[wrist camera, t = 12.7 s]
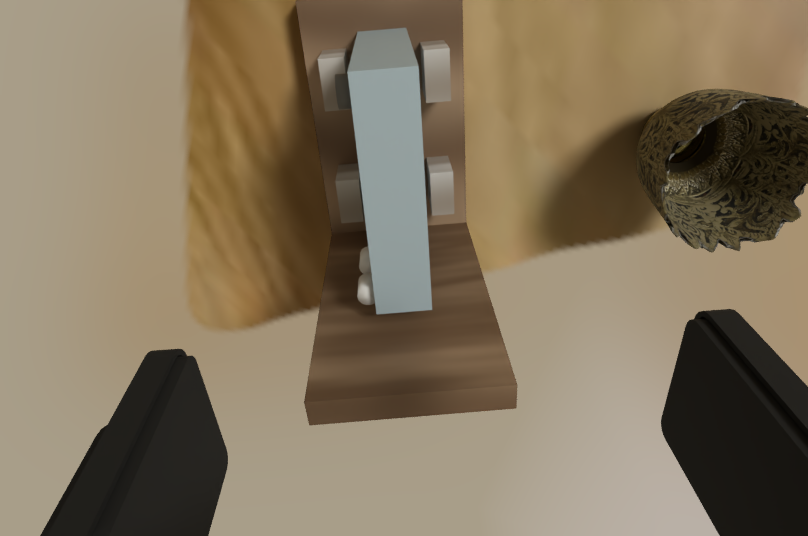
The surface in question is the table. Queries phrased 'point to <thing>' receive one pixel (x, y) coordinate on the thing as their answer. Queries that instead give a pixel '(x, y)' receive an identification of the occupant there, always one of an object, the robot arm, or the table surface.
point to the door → (389, 170)
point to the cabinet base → (447, 235)
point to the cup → (725, 165)
